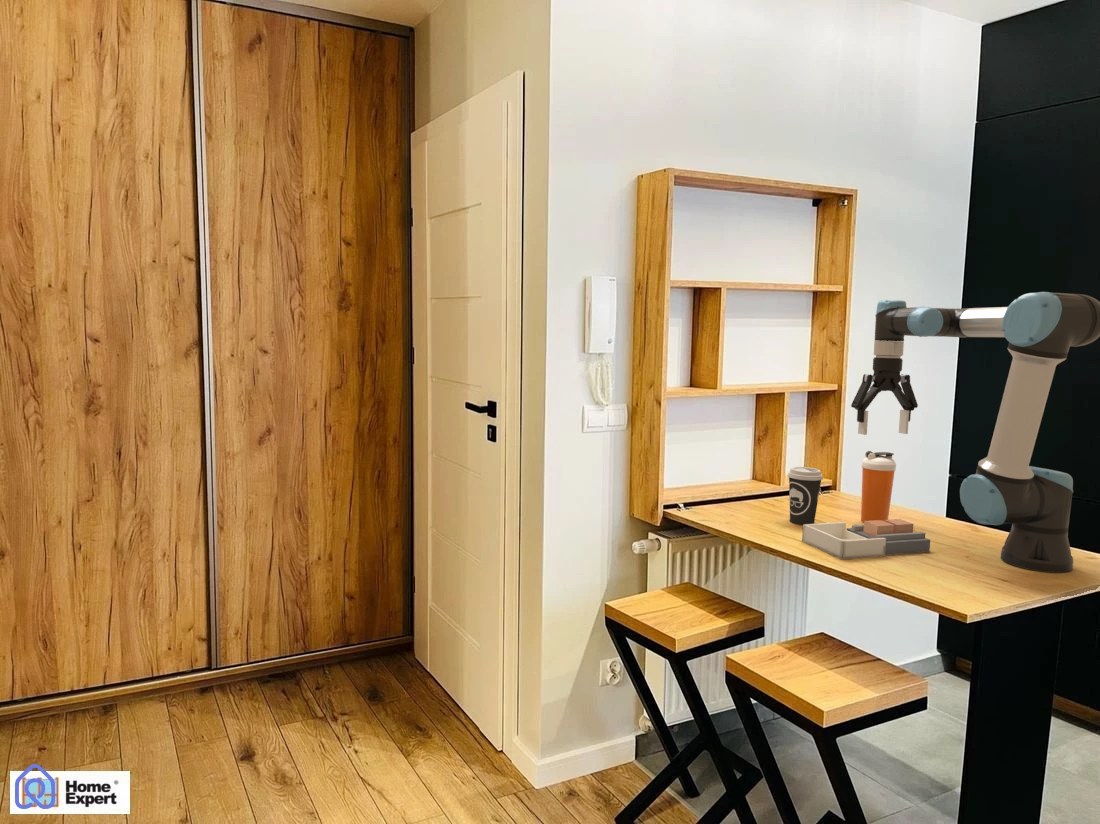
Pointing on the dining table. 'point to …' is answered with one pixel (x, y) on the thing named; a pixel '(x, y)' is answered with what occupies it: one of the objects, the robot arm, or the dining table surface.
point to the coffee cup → (804, 494)
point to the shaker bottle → (877, 485)
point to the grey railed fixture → (898, 541)
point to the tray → (842, 541)
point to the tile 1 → (877, 528)
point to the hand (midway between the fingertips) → (882, 433)
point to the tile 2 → (901, 526)
